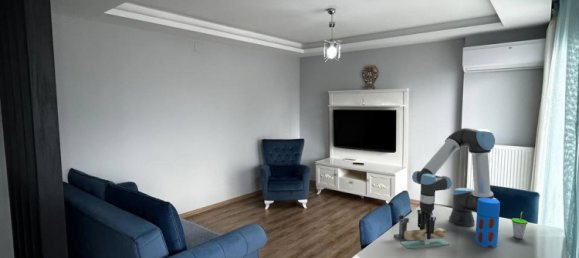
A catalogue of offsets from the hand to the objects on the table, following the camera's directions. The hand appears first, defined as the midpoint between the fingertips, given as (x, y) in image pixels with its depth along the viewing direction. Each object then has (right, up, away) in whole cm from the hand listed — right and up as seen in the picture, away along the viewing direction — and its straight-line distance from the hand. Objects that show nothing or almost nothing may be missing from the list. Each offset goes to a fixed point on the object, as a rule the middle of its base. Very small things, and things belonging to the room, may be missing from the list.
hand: (424, 242), depth 180 cm
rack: (-2, 0, +9) cm, 10 cm away
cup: (+60, -1, +11) cm, 61 cm away
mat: (0, -1, 0) cm, 1 cm away
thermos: (+36, -1, +2) cm, 36 cm away
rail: (0, +3, 0) cm, 3 cm away
